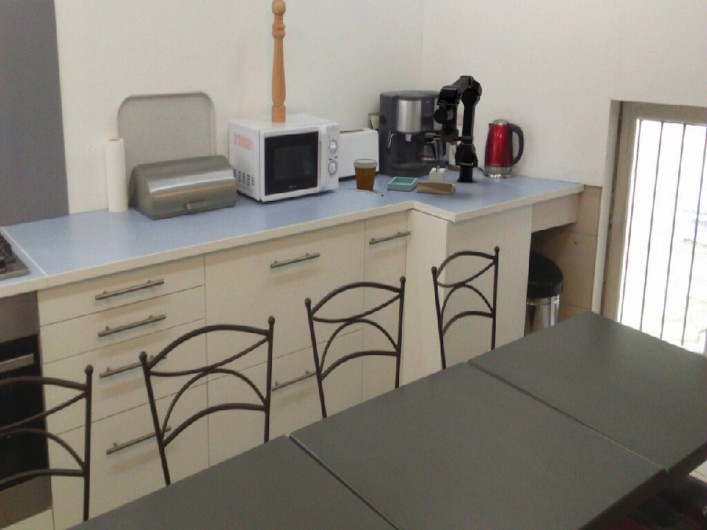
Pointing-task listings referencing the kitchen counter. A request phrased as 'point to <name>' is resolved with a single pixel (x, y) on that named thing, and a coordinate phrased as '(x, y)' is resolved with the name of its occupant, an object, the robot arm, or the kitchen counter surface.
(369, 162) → the disposable coffee cup
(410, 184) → the tray
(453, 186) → the bay
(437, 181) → the white handled drawer
